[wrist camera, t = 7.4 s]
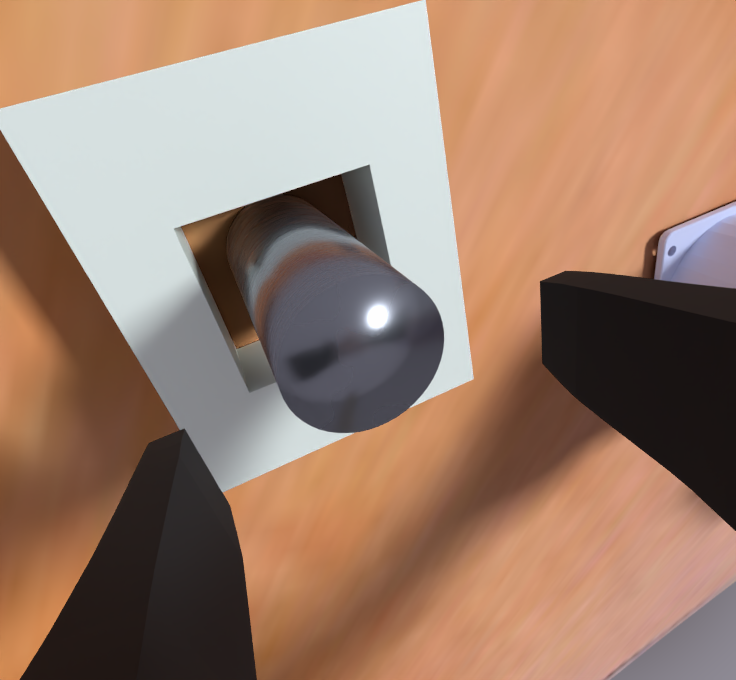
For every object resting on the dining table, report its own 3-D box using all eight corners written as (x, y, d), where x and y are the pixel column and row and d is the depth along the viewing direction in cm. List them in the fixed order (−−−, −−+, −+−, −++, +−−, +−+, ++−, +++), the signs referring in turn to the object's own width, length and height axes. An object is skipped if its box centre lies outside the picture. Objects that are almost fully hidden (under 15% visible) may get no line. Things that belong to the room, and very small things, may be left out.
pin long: (340, 280, 17) (450, 397, 11) (244, 310, 17) (301, 456, 10) (319, 182, 16) (437, 251, 9) (210, 210, 15) (252, 308, 8)
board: (435, 343, 20) (473, 378, 18) (210, 439, 18) (218, 494, 16) (378, 15, 14) (425, -1, 12) (24, 106, 12) (-11, 111, 10)
